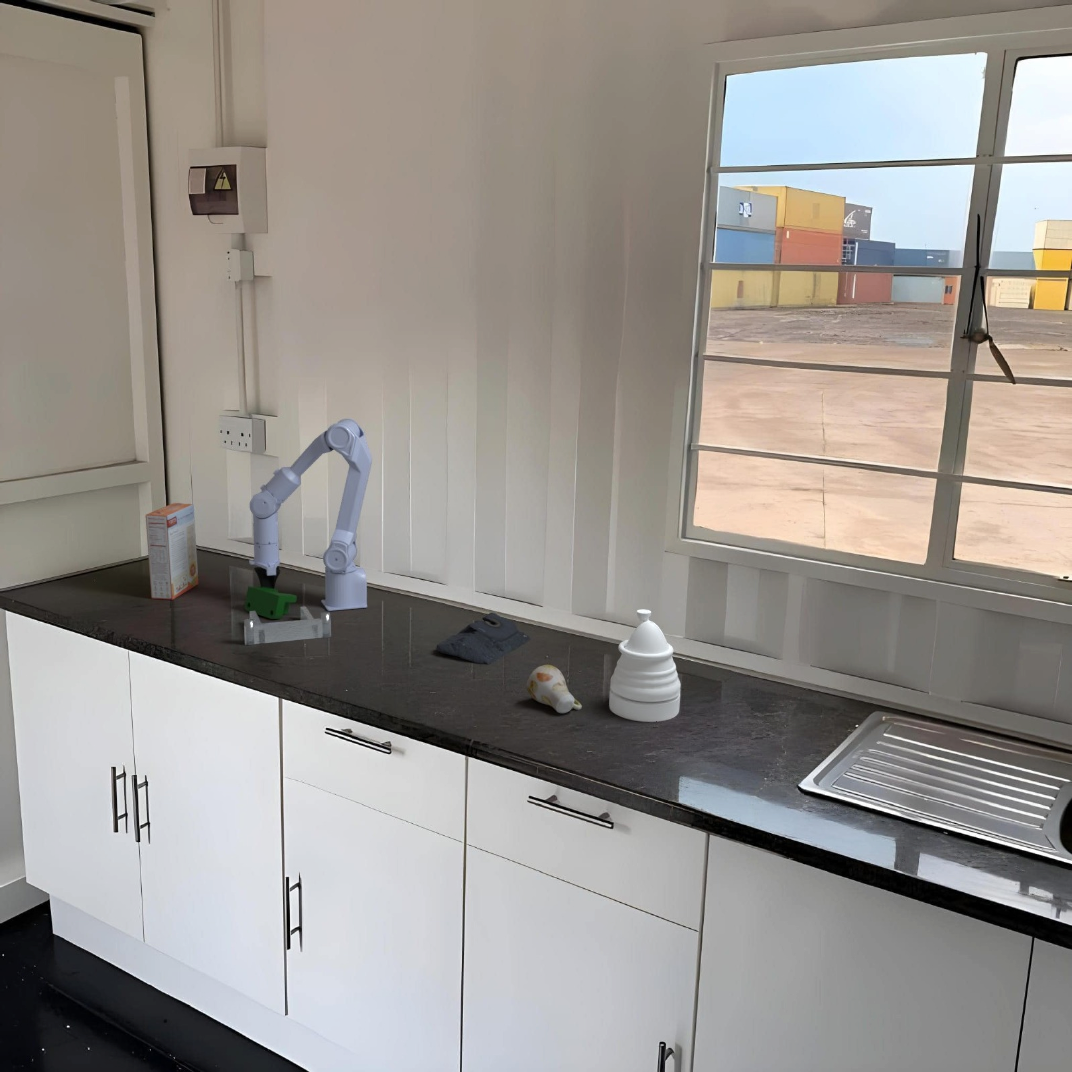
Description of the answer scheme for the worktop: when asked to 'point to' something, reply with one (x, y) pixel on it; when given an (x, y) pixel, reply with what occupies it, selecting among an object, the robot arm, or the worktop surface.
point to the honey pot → (645, 676)
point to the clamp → (268, 602)
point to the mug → (551, 689)
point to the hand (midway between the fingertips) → (267, 597)
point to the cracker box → (172, 550)
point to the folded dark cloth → (484, 640)
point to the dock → (286, 628)
